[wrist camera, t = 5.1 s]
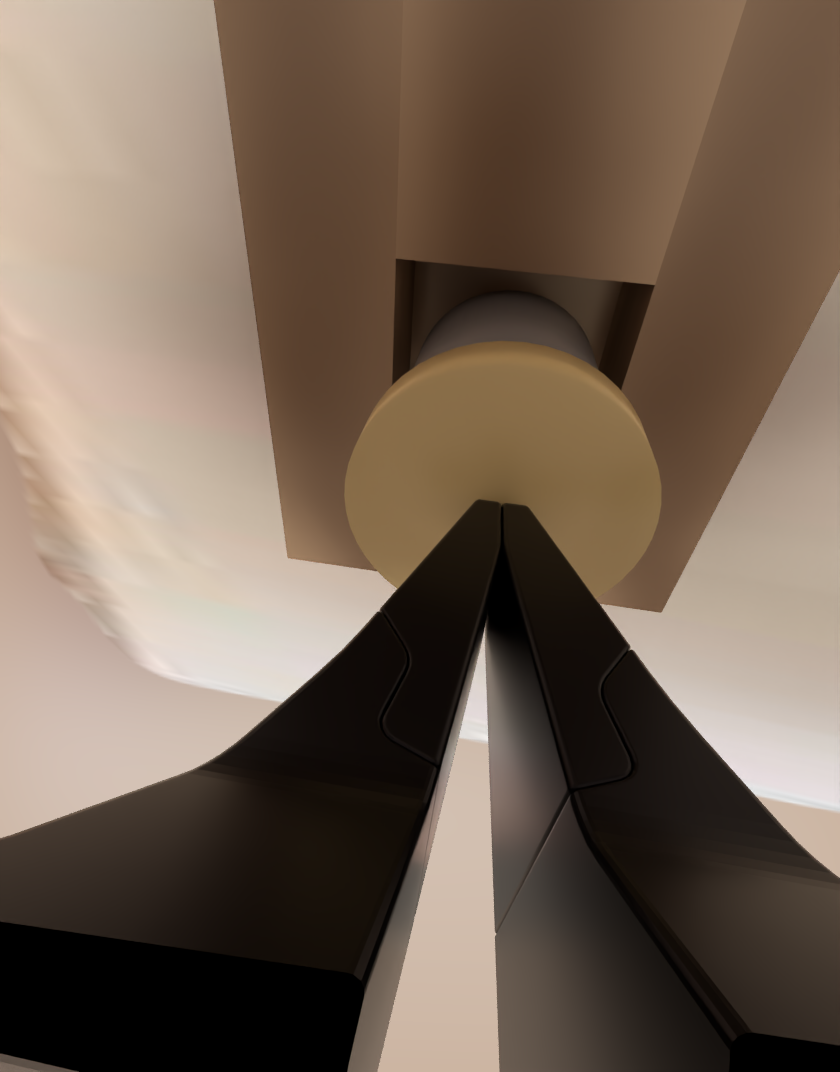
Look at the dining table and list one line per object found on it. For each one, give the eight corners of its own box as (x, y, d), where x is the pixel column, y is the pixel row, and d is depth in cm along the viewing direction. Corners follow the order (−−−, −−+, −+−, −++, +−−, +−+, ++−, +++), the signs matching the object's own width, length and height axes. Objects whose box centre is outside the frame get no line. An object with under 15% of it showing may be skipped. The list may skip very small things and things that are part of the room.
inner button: (643, 283, 11) (718, 389, 7) (581, 485, 15) (607, 639, 10) (404, 258, 12) (339, 345, 7) (396, 461, 15) (348, 600, 11)
